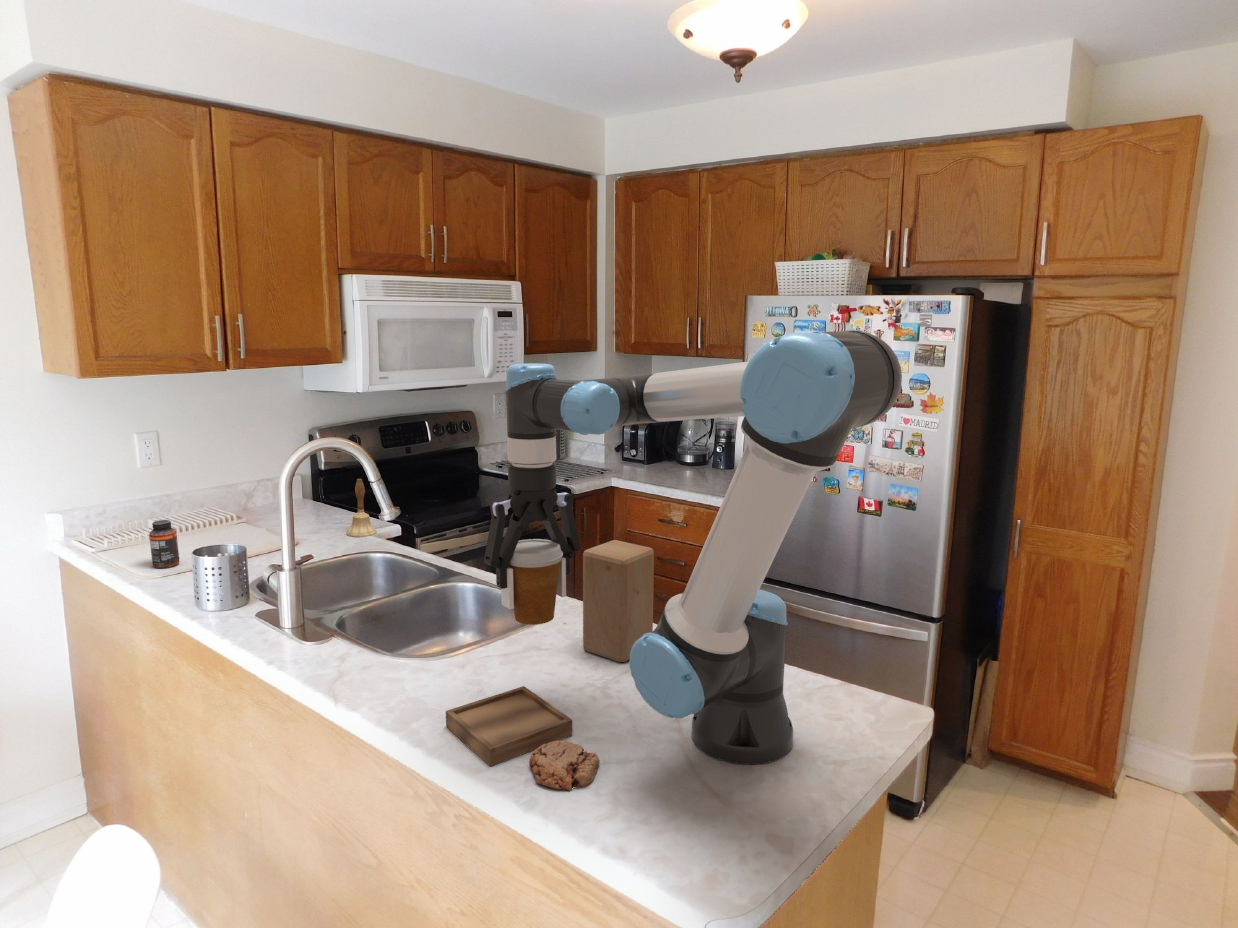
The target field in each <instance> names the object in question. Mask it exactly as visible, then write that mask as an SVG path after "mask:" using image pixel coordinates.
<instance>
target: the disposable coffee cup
mask: <svg viewBox="0 0 1238 928" xmlns="http://www.w3.org/2000/svg"><path fill="white" fill-rule="evenodd" d="M562 556H563V552H562V551H561V548H560V545H559V544H558V543H556V542H554V541H552V540H551V539H550V540H549V539H541V538H533V539H531V538H529V539H521V540H520V539H519V541H518V544H517V546H516V549H515V551H514V554H513V556H512V559H511V561H510V563H509V567H511V568H512V569H513V592H514V609H513V614H514V620H515V621H516V622H517V623H519V624H523V625H528V626H529V625H532V626H534V625H536V626H537V625H542V624H546V623H549V622H551V621H553V620H554V618H555V610H556V609H555V608H556V602H557V601H556V600H557V599H556V598H557V585H558V576H559V567H560V561H561V558H562Z"/></svg>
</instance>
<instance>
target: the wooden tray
mask: <svg viewBox="0 0 1238 928" xmlns="http://www.w3.org/2000/svg"><path fill="white" fill-rule="evenodd" d="M445 727H446V729H448V730H450V732H451V733H453V735H455V736H456V737H457V738H458V739H460V740H461V741H462V743H464V744H465V745H466V746H467V747H468V748H469V749H470V750H472V751H473V752H474V753H475V754H476V755H477V756H479V758H480V759H481V760H483V761H484V762H485V763H486V764H487V765H488V766H490V767H492V766H495V765H498V764H500V763H503V762H507V761H508V760H509V761H510V760H511V759H514V758H517V757H519V756H522V755H525V754H527V753H529V752H532V751H533V752H534V750H535V749H537V748H538V747H540V746H541V745H543V744H547V743H550V742H553V741H557V740H559V741H563V740H564V739H568V738H569V737H573V719H572V718H571V717H569V716H568V715H566V714H565V713H563V712H562V711H560V710H559V709H558V708H556V707H554V706H553V705H552V704H550V702H548V701H546V700H545V699H543V698H542V697H541V696H539V695H538V694H536V693H535V692H534V691H532V690H530V689H529V688H527V687H526V686H525V685H523V686H520V687H517V688H513V689H509V690H508V691H504V692H502V693H501V692H500V693H498V694H495V695H491V696H488V697H485V698H481V699H479V700H476V701H473V702H469V703H466V704H463V705H460V706H456V707H453V708H451V709H448V710H447V709H446V710H445Z"/></svg>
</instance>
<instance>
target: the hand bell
mask: <svg viewBox="0 0 1238 928" xmlns="http://www.w3.org/2000/svg"><path fill="white" fill-rule="evenodd" d="M354 491H355V492H354V493H355V497H356V500H357V512H356V513H355V514H353V515H352V522H351V526H350V528H349V529H348V530H347V531H346V533H345V534H346V536H348V537H353V538H354V537H355V538H364V537H371V536H374V535H376V534H377V532H378V531H377V530H376V529H375V528H374V526H373V525H372V522H371V519H370V514H369V513H366V512H365V507H364V498H365V493H366V489H365V485H364V481H363V479H362V478H357V479H356V482H355V487H354Z"/></svg>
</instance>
